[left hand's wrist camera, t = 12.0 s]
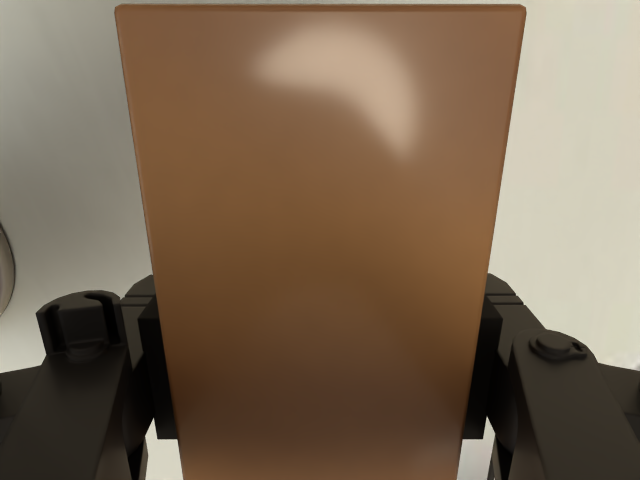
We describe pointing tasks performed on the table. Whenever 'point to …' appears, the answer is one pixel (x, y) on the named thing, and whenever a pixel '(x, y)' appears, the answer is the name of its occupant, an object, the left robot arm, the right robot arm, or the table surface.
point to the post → (320, 225)
